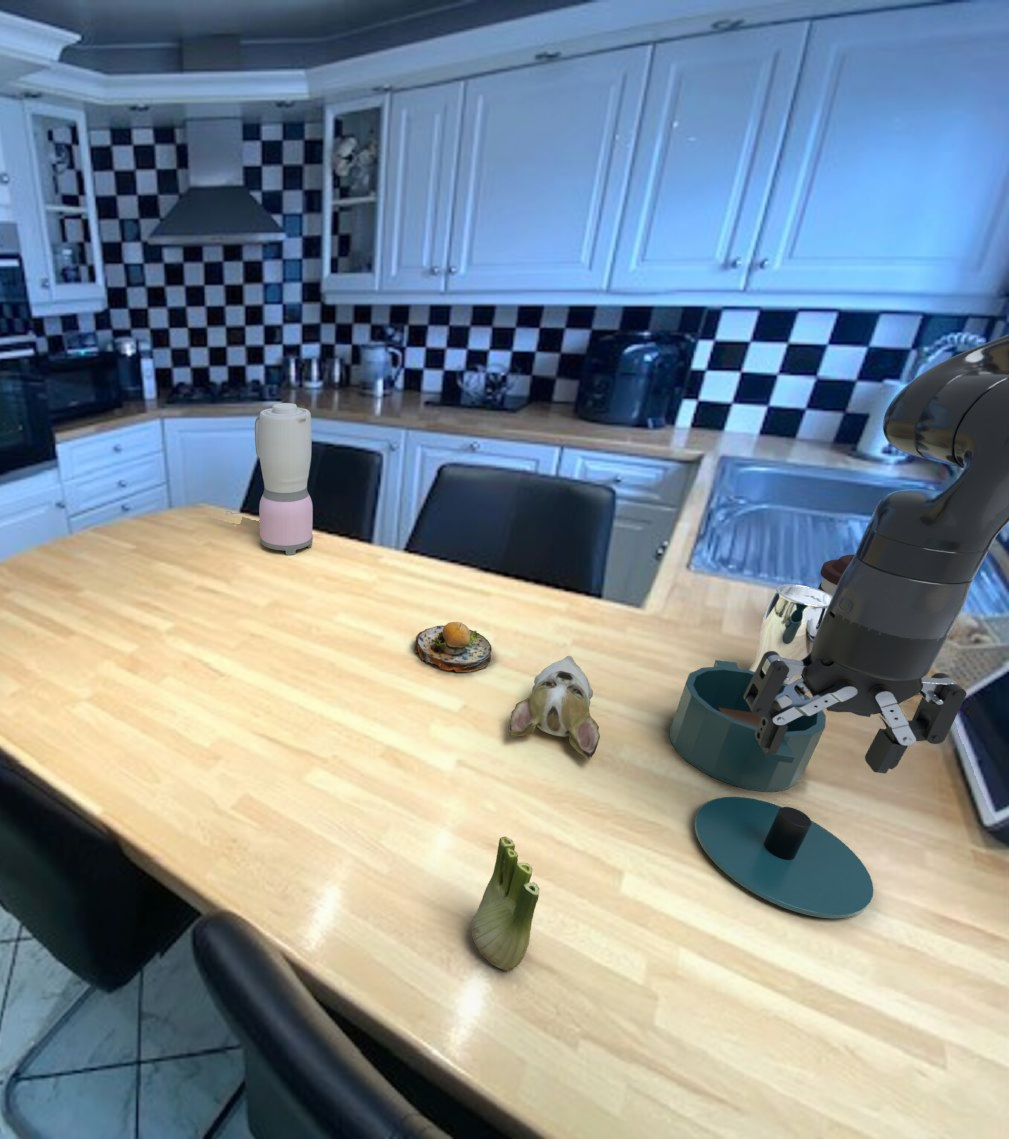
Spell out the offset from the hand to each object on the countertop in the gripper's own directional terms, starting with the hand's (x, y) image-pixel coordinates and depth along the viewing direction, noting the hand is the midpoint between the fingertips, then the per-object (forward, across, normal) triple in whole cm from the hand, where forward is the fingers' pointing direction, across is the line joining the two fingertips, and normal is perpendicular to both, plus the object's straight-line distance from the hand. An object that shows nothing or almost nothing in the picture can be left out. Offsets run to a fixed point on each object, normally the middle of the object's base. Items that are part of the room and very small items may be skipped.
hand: (818, 757), depth 60 cm
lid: (+13, 0, 0) cm, 13 cm away
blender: (+14, +74, -67) cm, 101 cm away
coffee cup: (+13, -24, -49) cm, 56 cm away
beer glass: (+14, -11, -35) cm, 39 cm away
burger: (+14, +34, -30) cm, 48 cm away
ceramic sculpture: (+14, +20, -16) cm, 29 cm away
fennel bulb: (+14, +28, +20) cm, 37 cm away
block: (+13, -1, -17) cm, 21 cm away
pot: (+13, -1, -17) cm, 21 cm away
